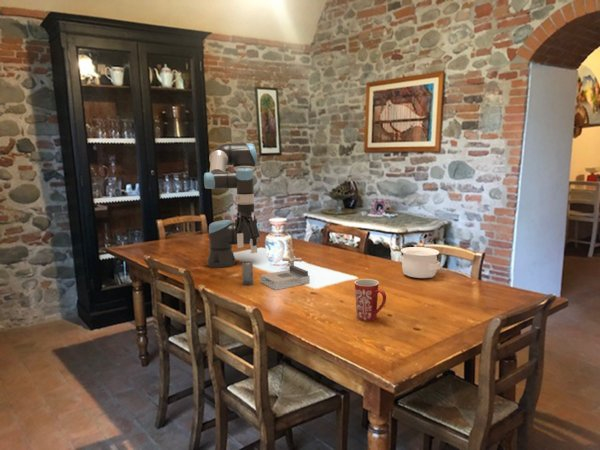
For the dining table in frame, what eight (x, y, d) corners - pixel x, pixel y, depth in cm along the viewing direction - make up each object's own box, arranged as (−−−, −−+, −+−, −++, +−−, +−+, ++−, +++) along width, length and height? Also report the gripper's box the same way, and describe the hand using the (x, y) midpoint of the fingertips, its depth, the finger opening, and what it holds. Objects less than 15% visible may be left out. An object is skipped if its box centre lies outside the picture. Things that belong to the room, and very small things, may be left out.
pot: (449, 277, 223) (450, 252, 221) (429, 284, 212) (430, 258, 209) (410, 268, 239) (411, 244, 237) (389, 274, 228) (390, 250, 226)
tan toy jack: (299, 272, 234) (299, 252, 232) (280, 271, 236) (280, 252, 234) (303, 267, 243) (303, 248, 242) (285, 266, 245) (284, 247, 244)
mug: (348, 317, 173) (349, 282, 171) (364, 311, 179) (364, 277, 177) (376, 326, 164) (376, 289, 162) (391, 319, 170) (392, 284, 168)
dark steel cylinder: (241, 283, 216) (240, 262, 214) (250, 281, 219) (249, 261, 217) (245, 286, 212) (244, 264, 210) (255, 284, 215) (254, 263, 213)
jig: (260, 282, 218) (260, 270, 217) (293, 276, 227) (293, 265, 226) (275, 290, 206) (275, 277, 205) (309, 283, 216) (309, 271, 215)
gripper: (226, 201, 217) (228, 246, 221) (250, 206, 197) (252, 256, 200) (241, 200, 221) (242, 244, 225) (266, 205, 201) (267, 253, 204)
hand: (247, 249), depth 213 cm, fingers open, 13 cm apart
